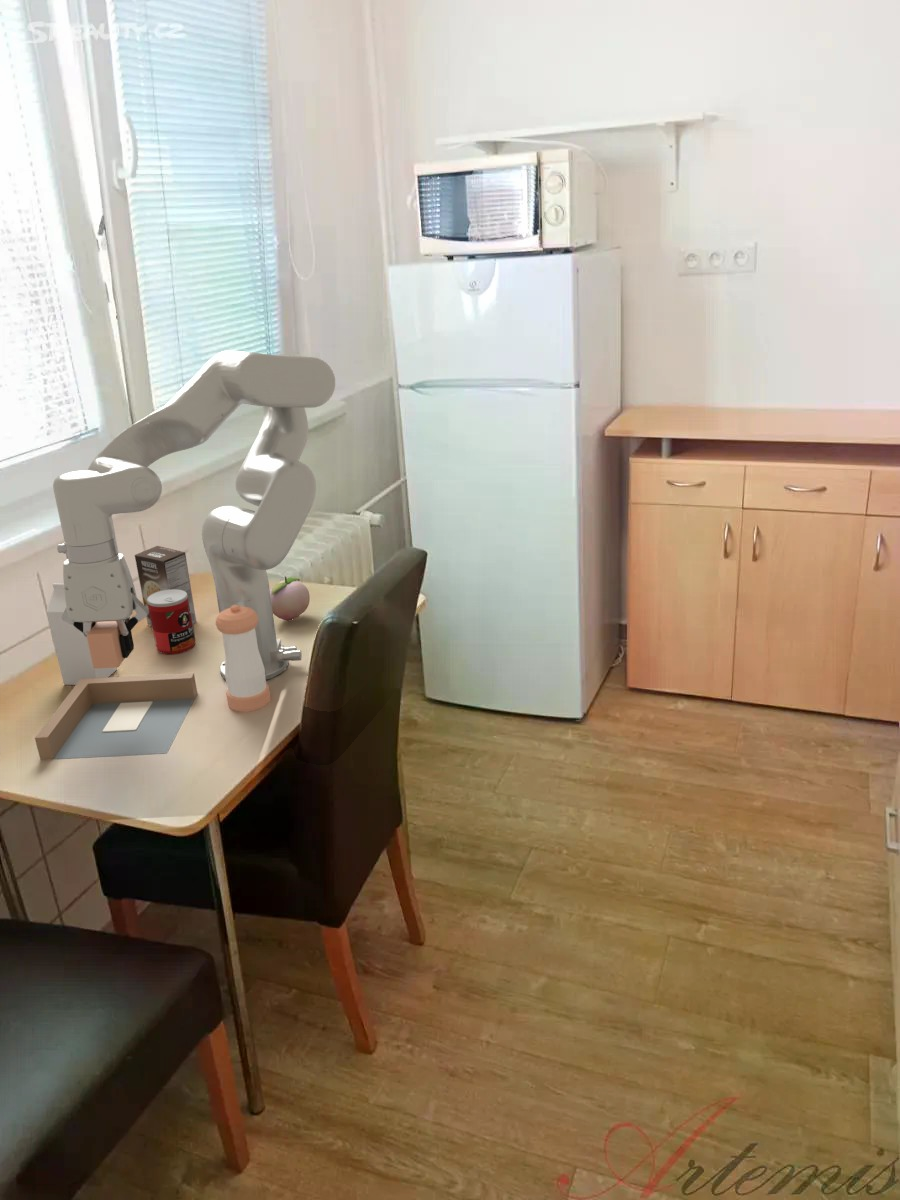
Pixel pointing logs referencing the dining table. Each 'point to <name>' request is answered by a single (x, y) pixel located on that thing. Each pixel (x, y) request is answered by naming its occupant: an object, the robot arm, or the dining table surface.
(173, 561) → the coffee box
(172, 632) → the canned food
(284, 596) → the decorative fruit
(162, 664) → the dining table surface
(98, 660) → the terracotta block
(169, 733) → the arena board
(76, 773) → the dining table surface
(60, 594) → the milk carton
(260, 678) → the pepper shaker
